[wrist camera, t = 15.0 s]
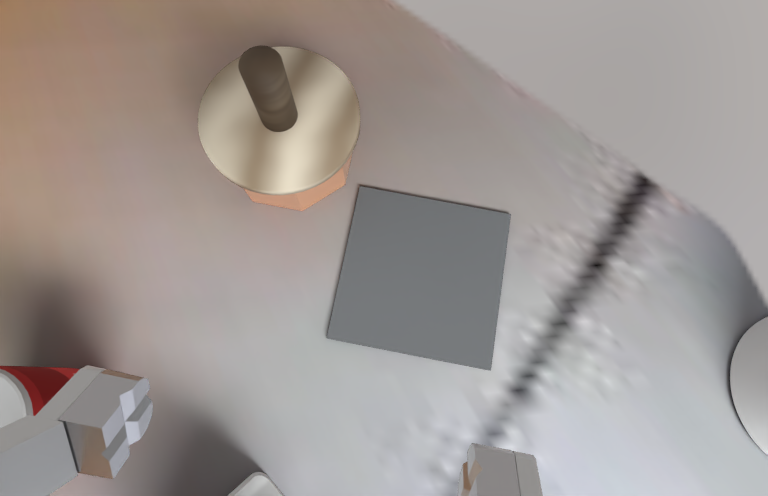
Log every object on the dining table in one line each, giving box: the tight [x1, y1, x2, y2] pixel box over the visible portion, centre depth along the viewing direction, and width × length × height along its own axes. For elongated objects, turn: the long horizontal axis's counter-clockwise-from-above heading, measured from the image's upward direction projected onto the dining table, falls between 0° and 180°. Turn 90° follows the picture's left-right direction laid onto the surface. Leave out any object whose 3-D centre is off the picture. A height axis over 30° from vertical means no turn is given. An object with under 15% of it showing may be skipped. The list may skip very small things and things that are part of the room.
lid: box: [198, 46, 360, 195], centre depth 38 cm, size 14×14×8 cm
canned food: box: [0, 366, 80, 428], centre depth 36 cm, size 8×8×11 cm
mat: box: [327, 186, 511, 370], centre depth 45 cm, size 15×15×1 cm
